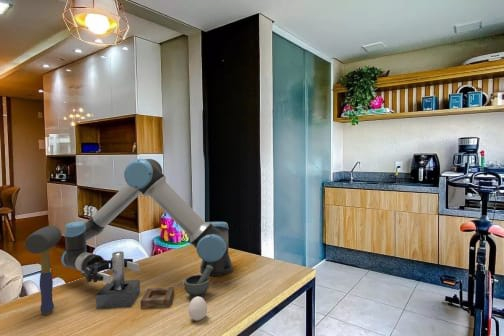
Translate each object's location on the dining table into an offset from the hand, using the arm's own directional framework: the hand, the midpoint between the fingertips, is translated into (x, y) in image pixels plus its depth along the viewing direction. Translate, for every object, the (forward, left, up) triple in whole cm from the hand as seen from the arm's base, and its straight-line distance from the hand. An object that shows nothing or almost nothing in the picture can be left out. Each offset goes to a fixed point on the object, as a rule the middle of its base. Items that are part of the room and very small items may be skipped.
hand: (125, 273), depth 111 cm
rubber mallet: (+25, +5, -11) cm, 28 cm away
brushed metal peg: (+3, -2, -9) cm, 10 cm away
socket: (+3, -2, -11) cm, 12 cm away
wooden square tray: (-12, +1, -11) cm, 16 cm away
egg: (-28, +15, -11) cm, 34 cm away
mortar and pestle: (-27, -1, -11) cm, 29 cm away
